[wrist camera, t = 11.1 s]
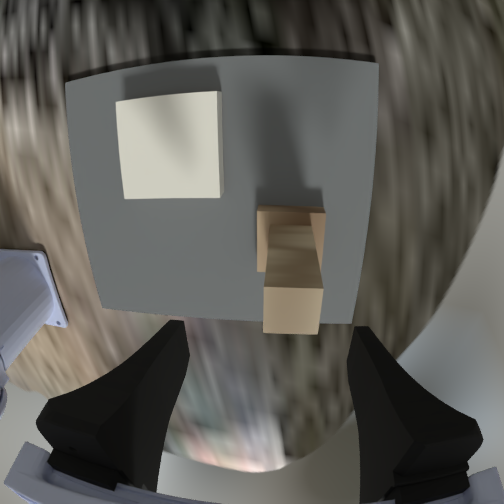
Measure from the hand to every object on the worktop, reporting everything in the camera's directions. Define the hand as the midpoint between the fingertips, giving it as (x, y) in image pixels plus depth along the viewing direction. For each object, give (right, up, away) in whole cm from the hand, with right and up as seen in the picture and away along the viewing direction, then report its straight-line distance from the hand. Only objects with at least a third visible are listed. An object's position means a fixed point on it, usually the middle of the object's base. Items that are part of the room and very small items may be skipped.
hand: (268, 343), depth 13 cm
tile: (-5, +7, +6) cm, 11 cm away
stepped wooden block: (+2, +5, +7) cm, 9 cm away
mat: (-3, +7, +7) cm, 11 cm away
